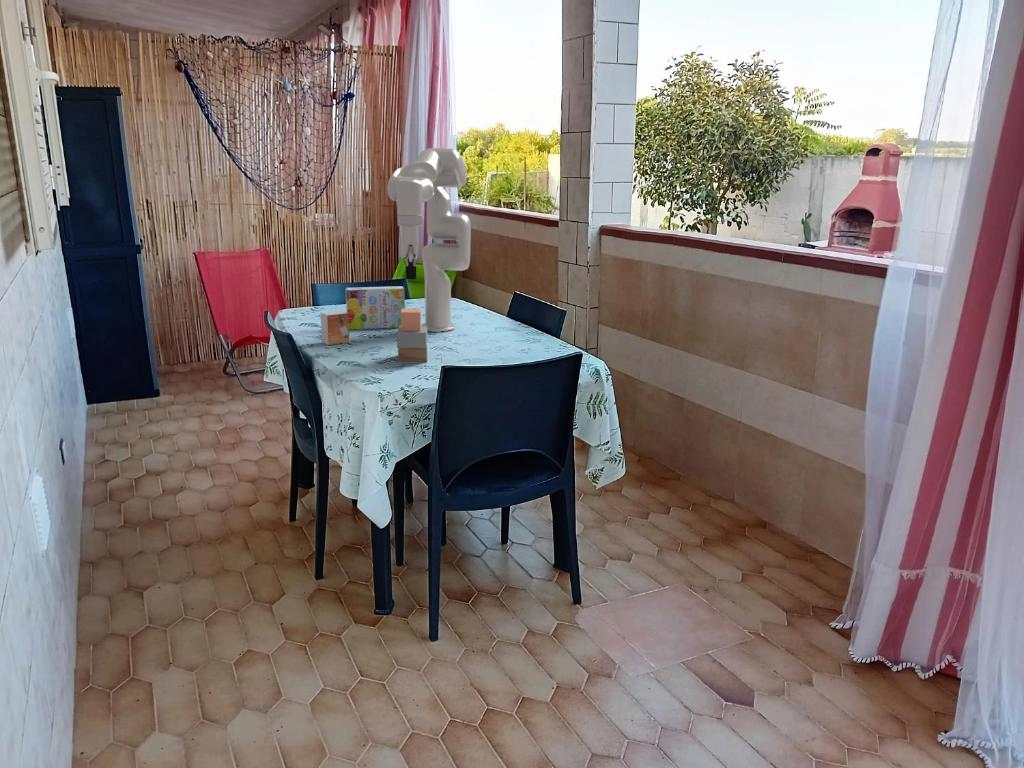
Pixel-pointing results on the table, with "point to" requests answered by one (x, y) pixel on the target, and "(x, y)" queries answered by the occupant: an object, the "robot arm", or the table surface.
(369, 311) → the snack box
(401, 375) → the table surface
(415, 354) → the tower bottom block
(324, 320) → the small box
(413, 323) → the terracotta cube
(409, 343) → the tower top block
